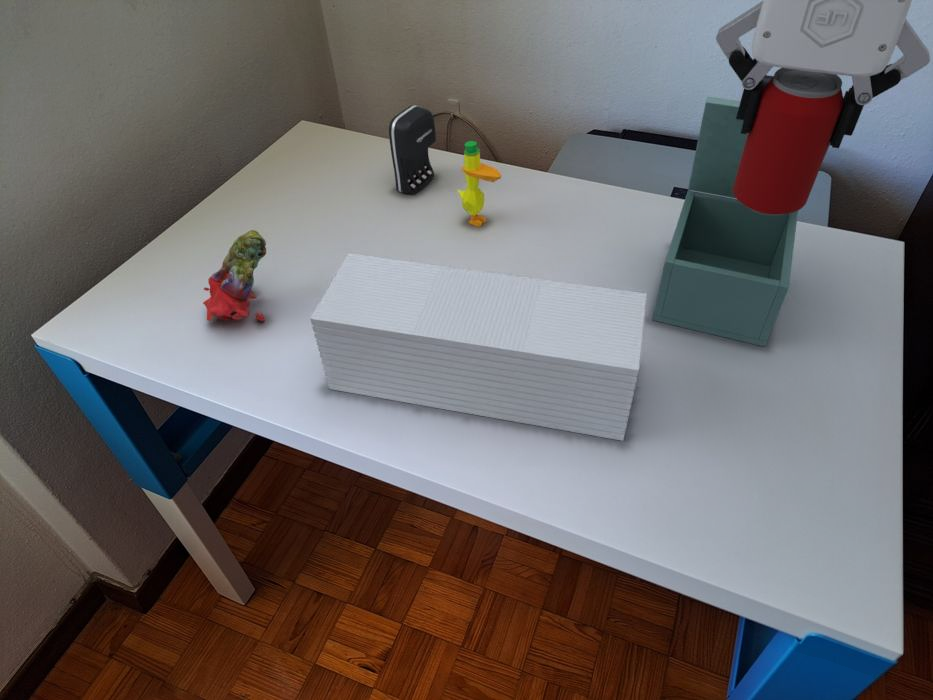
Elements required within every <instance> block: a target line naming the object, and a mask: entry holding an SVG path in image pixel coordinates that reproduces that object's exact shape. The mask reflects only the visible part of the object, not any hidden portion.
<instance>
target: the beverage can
mask: <svg viewBox="0 0 933 700" xmlns="http://www.w3.org/2000/svg"><path fill="white" fill-rule="evenodd" d="M773 76H774V77H773V78H772V79H771V80H770V81H769V82H768V83H767V84H766V85H765V86H764V87H763V88H762V90H761V94H760V98H759V101H758V104H757V108H756V111H755V115H754V118H753V122H752V125H751V129H750V132H749V133H748V136H747V139H746V143H745V146H744V150H743V153H742V157H741V161H740V164H739V168H738V172H737V175H736V179H735V183H734V186H733V192H734V195H735V197H736V198H735V199H738V200H739V201H740V202H741V203H742V204H743V205H745V206H746V207H747V208H749V209H750V210H752V211H755V212H757V213H760V214H765V215H782V214H788V213H793V212H796V211H798V212H799V211H800V210H802V209H803V208H804V207H805V206H806V204H807V202H808V201H809V200H808V199H809V197H810V194H811V193H812V190H813V188H814V184H815V182H816V180H817V177H818V175H819V172H820V170H821V167H822V165H823V162H824V159H825V158H826V157H825V156H826V155H827V153H826V151H827V149H828V146H829V143H830V141H831V138H832V135H833V133H834V130H835V128H836V125H837V122H838V119H839V117H840V114H841V111H842V109H843V106H844V99H843V98H844V95H843V94H844V93H843V90H842V89H843V88H842V86H843V80H842V78H841V77H840V75H836V74H828V73H820V72H812V71H804V70H796V69H788V68H781V67H779V69H777V70H775V72H774V74H773ZM828 150H829V149H828ZM827 152H828V151H827ZM825 154H826V155H825Z"/></svg>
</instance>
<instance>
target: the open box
mask: <svg viewBox="0 0 933 700" xmlns="http://www.w3.org/2000/svg"><path fill="white" fill-rule="evenodd" d="M798 214H799V210H798V211H796V212H793V213H788V214H782V215H765V214H760V213H757V212H755V211H752V210H750V209H749V208H747V207H746V206H745V205H743V204H742V203H741V202H740V201H739V200H738V199H737V198H732V197H727V196H721V195H716V194H710V193H705V192H699V191H694V190H687V191H686V195H685V198H684V202H683V205H682V208H681V210H680V214H679V217H678V220H677V223H676V227H675V230H674V233H673V236H672V239H671V242H670V244H669V245H670V246H669V248H668V251H667V254H666V258H665V261H664V265H663V270H662V274H661V278H660V281H659V282H660V283H659V288H658V292H657V296H656V301H655V305H654V309H653V314H652V317H651V320H652V321H654V322H659V323H663V324H667V325H671V326H675V327H678V328H679V327H680V328H684V329H688V330H693V331H697V332H701V333H705V334H709V335H713V336H716V337H722V338H726V339H730V340H734V341H739V342H743V343H746V344H747V343H748V344H751V345H754V346H760V347H764V348H765V346H766V345H767V343H768V340H769V337H770V335H771V333H772V330H773V327H774V325H775V323H776V320H777V319H778V315H779V313H780V310H781V308H782V306H783V303H784V301H785V298H786V295H787V293H788V290H789V289H790V282H791V281H790V280H791V272H792V263H793V257H794V256H793V255H794V246H795V240H796V239H795V238H796V230H797V223H798V216H799V215H798Z"/></svg>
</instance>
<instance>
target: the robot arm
mask: <svg viewBox="0 0 933 700" xmlns="http://www.w3.org/2000/svg"><path fill="white" fill-rule="evenodd" d="M912 2H913V0H762V1H760V2H759V3H757V4H756V5H754V6H753V7H750V9H748V10H746V11H744V12H743V13H742V14H740V15H738V16H737V17H735V18H734V19H732V20H731V21H729V22H728V23H726V24H724V25H723V26H721V27H720V28H719V29H718V30H717V34H716V37H715V40H716V43H717V44H718V46H719V48H720V50H721V51H722V53H723V54H724V57H726V59H727V61H728V64H729V66H730V67H731V69H732V70H733V71H734V73H735V74H736V76H737V77H738V78H739V79H738V80H740V82H741V87H742V88H743V89H742V90H743V91H742V95H741V98H740V100H739V101H740V105H739V109H738V113H737V116H736V119H739V120H744V121H743V125H742V129H741V133H740V134H747V133H749V132H750V129H751V125H752V122H753V118H754V115H755V111H756V108H757V104H758V101H759V98H760V94H761V89H762V85H763V80H762V79H763V78H764V77H765V75H768V73H769V72H770V71H771V70H772V69H773V68H775V67H776V68H788V69H796V70H804V71H812V72H820V73H828V74H836V75H838V76H845V77H846V76H847V77H851V80H852V81H851V82H852V85H851V87H849V89H848V90H845V92H844V95H843V99H844V106H843V109H842V111H841V114H840V117H839V119H838V122H837V125H836V128H835V130H834V133H833V135H832V138H831V141H830V147H831V148H833V149H840V147H841V144H842V142H843V139H844V137H845V136H853V134H854V130H855V129H856V126H857V124H858V121H859V119H860V116H861V114H862V112H863V110H864V107H865V106H866V105H868V104H870V103H871V102H872V100H873V99H874V98H876V97H878V96H879V95H881V94H883V93H885V92H886V91H888V90H890V89H892V88H894V87H896V86H897V85H899V84H900V83H901V81H902V80H904V79H907V78H908V77H910V76H912V75H913V74H916V73H917V72H918V71H920V70H921V69H923V68H925V67H927V66H928V65H929V63H930V62H931V54H930V50H929V49H928V48H927V46H926V45H925V44H924V42H923V40H922V39H921V38H920V37H919V35H918V34H917V32H916V31H915V29H914V28H913V26H912V25H911V24H910V22H909V21H908V20H907V16H908V13H909V11H910V8H911V5H912ZM752 30H754V33H753V37H752V44H751V55H752V57H751V55H750V53H749V52H748V51H747V49H746V48H745V47H744V46H743V45H742V42H741V41H740V39H739V38H741V37H742V36H744V35H745V34H747V33H749V32H750V31H752ZM896 46H897V47H898V49H899V50H900V52H901V53H902V54H903V55H902V56H901V57H899V59H897V60H896V61H894V62H893V63H889V62H890V60H891V58H892V56H893V54H894V51H895V49H896Z"/></svg>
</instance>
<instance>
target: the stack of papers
mask: <svg viewBox="0 0 933 700" xmlns="http://www.w3.org/2000/svg"><path fill="white" fill-rule="evenodd" d="M647 297H648V293H647V292H640V291H634V290H633V291H632V290H625V289H618V288H611V287H603V286H595V285H587V284H582V283H581V284H580V283H575V282H574V283H573V282H567V281H566V282H565V281H560V280H551V279H543V278H536V277H529V276H523V275H515V274H507V273H499V272H492V271H484V270H477V269H470V268H462V267H455V266H449V265H440V264H434V263H425V262H419V261H411V260H403V259H397V258H389V257H382V256H375V255H368V254H367V255H366V254H360V253H352V252H348V253H347V255H346V257H345V258H344V259H343V262H342V264H341V265H340V267H339V269H338V271H337V273H335V275H334V277H333V279H332V281H331V282H330V284H329V286H328V287H327V289H326V291H325V292H324V294H323V296H322V298H321V299H320V301H319V302H318V305H317V306H316V308H315V309H314V311H313V313H312V315H311V316H310V318H309V320H310V323H311V325H312V331H313V335H314V338H315V339H316V340H315V341H316V345H317V348H318V352H319V357H320V361H321V365H322V367H323V371H324V376H325V377H326V378H325V379H326V382H327V386H328V389H329V390H333V391H340V392H345V393H350V394H356V395H361V396H367V397H373V398H378V399H384V400H388V401H389V400H390V401H396V402H402V403H407V404H413V405H418V406H424V407H430V408H435V409H442V410H447V411H452V412H458V413H462V414H469V415H474V416H481V417H487V418H491V419H498V420H504V421H509V422H515V423H520V424H526V425H532V426H537V427H543V428H549V429H554V430H558V431H566V432H570V433H577V434H583V435H588V436H593V437H598V438H599V437H600V438H605V439H610V440H617V441H621V442H622V441H624V439H625V435H626V431H627V425H628V420H629V418H630V412H631V407H632V403H633V400H634V399H633V398H634V395H635V390H636V385H637V381H638V377H639V372H640V365H641V355H642V345H643V336H644V325H645V317H646V307H647Z"/></svg>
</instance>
